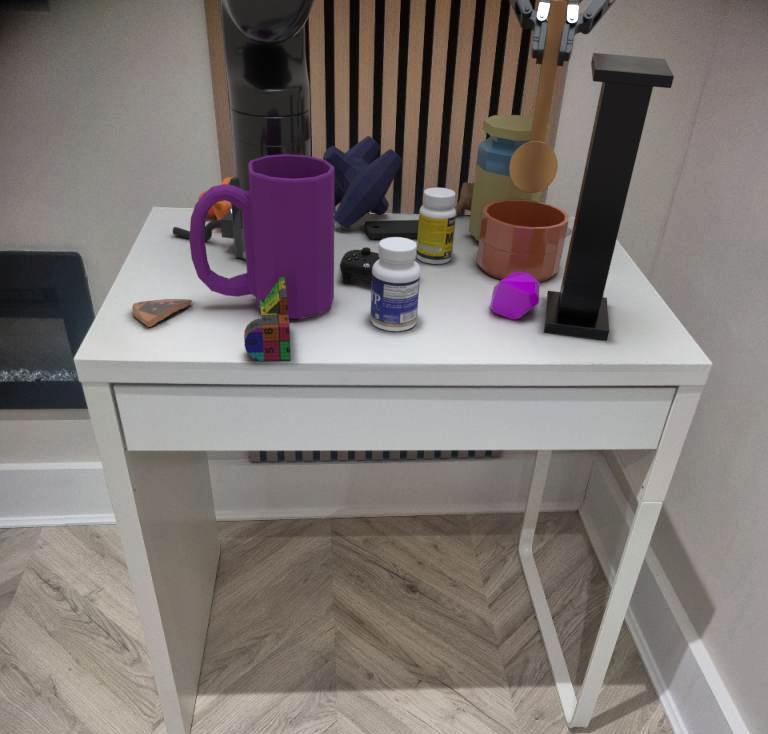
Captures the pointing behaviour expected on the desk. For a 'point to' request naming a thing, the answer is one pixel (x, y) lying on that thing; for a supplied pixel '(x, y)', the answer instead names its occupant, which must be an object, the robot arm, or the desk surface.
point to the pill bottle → (395, 285)
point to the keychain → (392, 228)
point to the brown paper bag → (465, 198)
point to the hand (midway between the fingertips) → (550, 59)
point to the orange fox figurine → (220, 204)
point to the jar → (499, 165)
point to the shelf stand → (604, 192)
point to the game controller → (358, 264)
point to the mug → (278, 232)
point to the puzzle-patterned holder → (270, 328)
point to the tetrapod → (361, 180)
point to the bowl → (521, 238)
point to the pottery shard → (157, 309)
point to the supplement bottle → (436, 226)
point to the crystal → (515, 295)
